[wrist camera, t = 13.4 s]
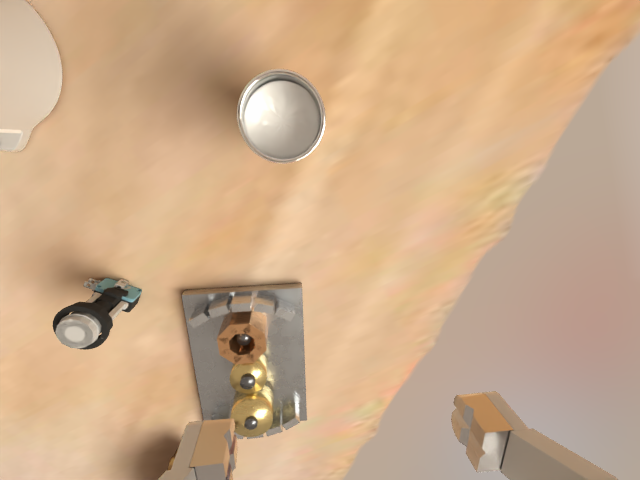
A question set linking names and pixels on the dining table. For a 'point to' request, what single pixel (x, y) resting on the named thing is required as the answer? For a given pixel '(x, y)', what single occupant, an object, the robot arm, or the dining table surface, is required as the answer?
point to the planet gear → (243, 324)
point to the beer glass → (281, 116)
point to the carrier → (250, 378)
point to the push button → (95, 313)
